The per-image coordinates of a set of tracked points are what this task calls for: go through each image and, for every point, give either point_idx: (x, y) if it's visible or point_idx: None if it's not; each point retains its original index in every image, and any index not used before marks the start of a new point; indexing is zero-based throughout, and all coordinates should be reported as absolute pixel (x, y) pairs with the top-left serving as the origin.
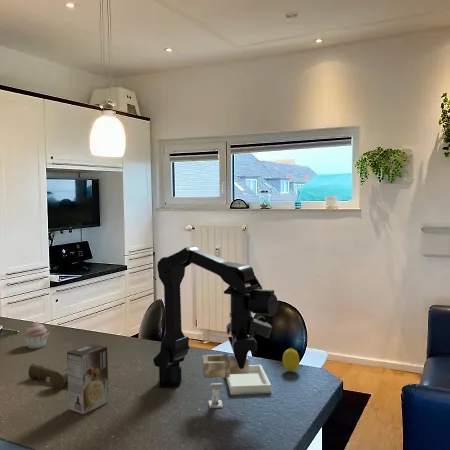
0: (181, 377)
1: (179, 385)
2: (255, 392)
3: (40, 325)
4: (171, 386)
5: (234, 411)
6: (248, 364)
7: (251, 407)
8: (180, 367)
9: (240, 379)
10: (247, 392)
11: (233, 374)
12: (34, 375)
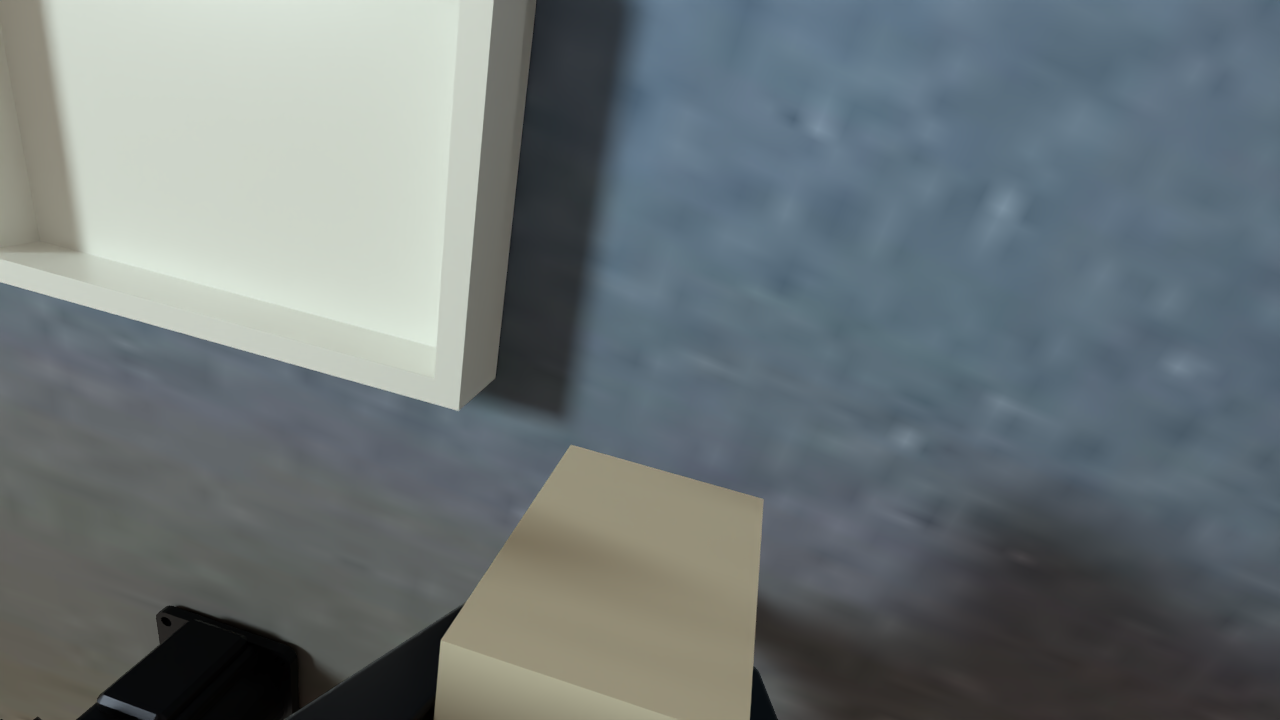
0: (215, 661)
1: (291, 654)
2: (516, 141)
3: None
4: (297, 692)
5: (828, 474)
6: (754, 630)
7: (810, 303)
8: (122, 713)
9: (197, 179)
10: (504, 228)
11: (83, 203)
12: None
